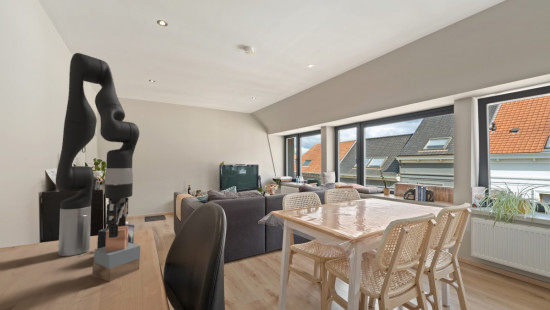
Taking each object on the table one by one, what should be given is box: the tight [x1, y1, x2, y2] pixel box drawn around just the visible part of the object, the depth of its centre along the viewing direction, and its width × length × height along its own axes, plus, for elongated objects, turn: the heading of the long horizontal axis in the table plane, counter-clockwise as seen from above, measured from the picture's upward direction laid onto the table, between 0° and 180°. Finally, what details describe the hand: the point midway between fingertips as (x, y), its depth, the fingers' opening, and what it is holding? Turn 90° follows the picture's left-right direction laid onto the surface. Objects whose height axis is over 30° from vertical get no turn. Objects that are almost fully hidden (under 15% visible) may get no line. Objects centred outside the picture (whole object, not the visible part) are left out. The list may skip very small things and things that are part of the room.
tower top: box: [93, 242, 141, 269], centre depth 75 cm, size 9×9×4 cm
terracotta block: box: [105, 226, 128, 251], centre depth 75 cm, size 5×5×6 cm
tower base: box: [91, 257, 141, 283], centre depth 74 cm, size 9×9×4 cm
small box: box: [96, 223, 135, 249], centre depth 88 cm, size 11×6×10 cm, turn 168°
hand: (117, 233), depth 75 cm, fingers open, 8 cm apart
